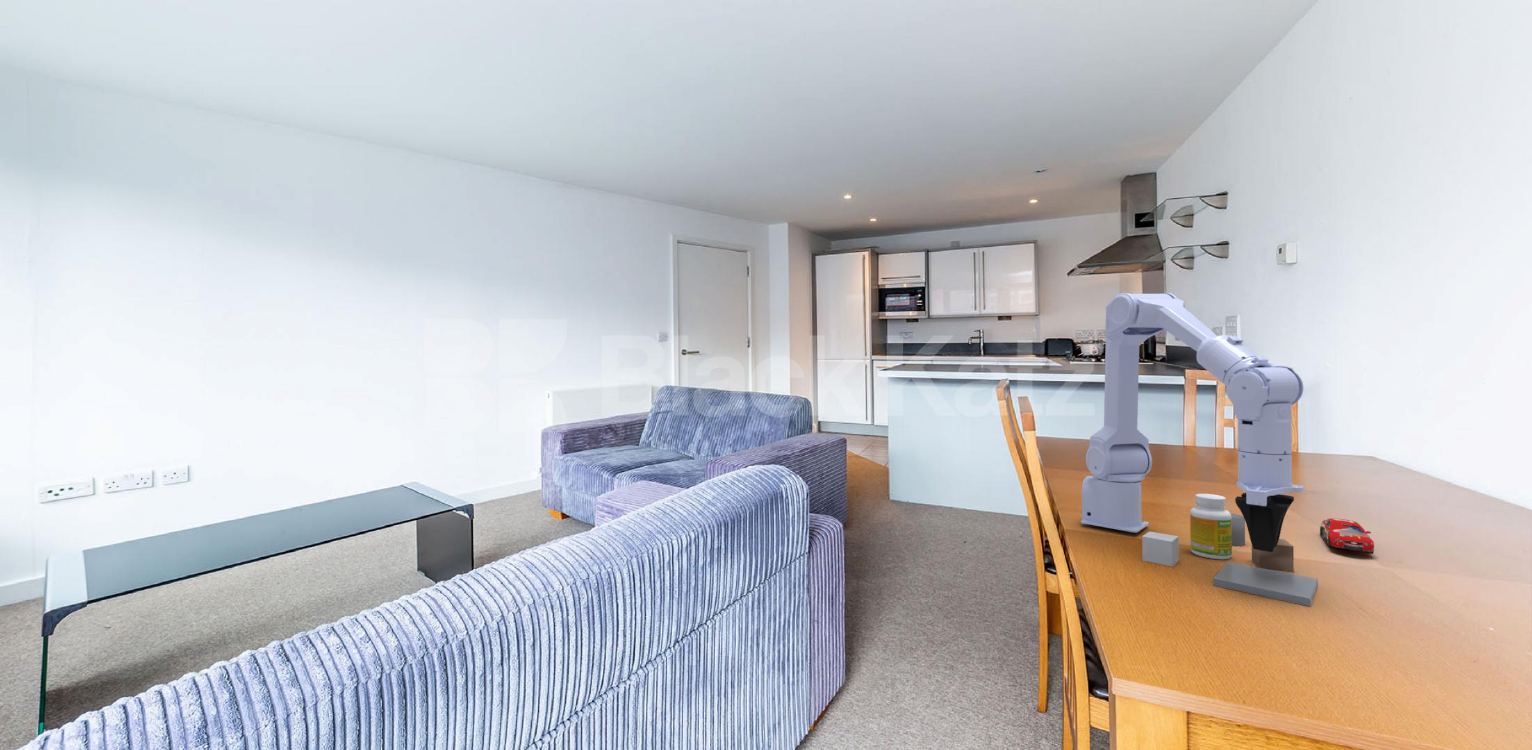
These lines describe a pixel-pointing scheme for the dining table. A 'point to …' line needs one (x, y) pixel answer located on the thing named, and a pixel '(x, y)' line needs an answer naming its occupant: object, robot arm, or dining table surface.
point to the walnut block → (1275, 557)
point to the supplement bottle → (1211, 527)
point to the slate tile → (1267, 583)
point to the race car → (1346, 535)
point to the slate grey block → (1238, 530)
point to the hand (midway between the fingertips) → (1265, 547)
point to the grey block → (1160, 548)
